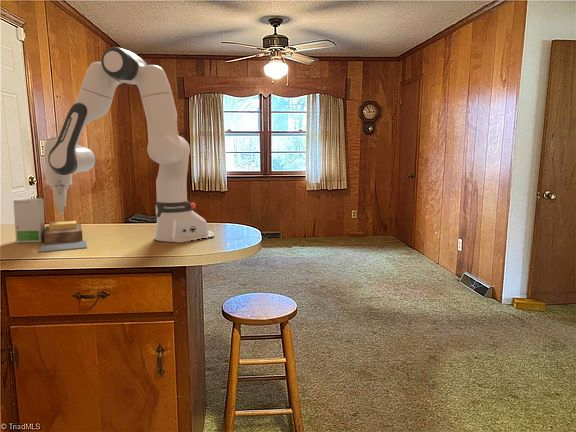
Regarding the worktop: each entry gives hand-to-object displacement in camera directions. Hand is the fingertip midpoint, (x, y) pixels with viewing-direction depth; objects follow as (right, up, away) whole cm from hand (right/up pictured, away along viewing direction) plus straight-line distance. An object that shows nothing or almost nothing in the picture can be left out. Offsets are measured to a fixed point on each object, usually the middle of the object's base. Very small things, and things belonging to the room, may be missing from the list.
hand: (61, 215), depth 160 cm
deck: (+4, -9, -6) cm, 12 cm away
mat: (+11, -11, -18) cm, 24 cm away
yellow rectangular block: (+4, -5, -6) cm, 9 cm away
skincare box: (-6, -10, -9) cm, 14 cm away
